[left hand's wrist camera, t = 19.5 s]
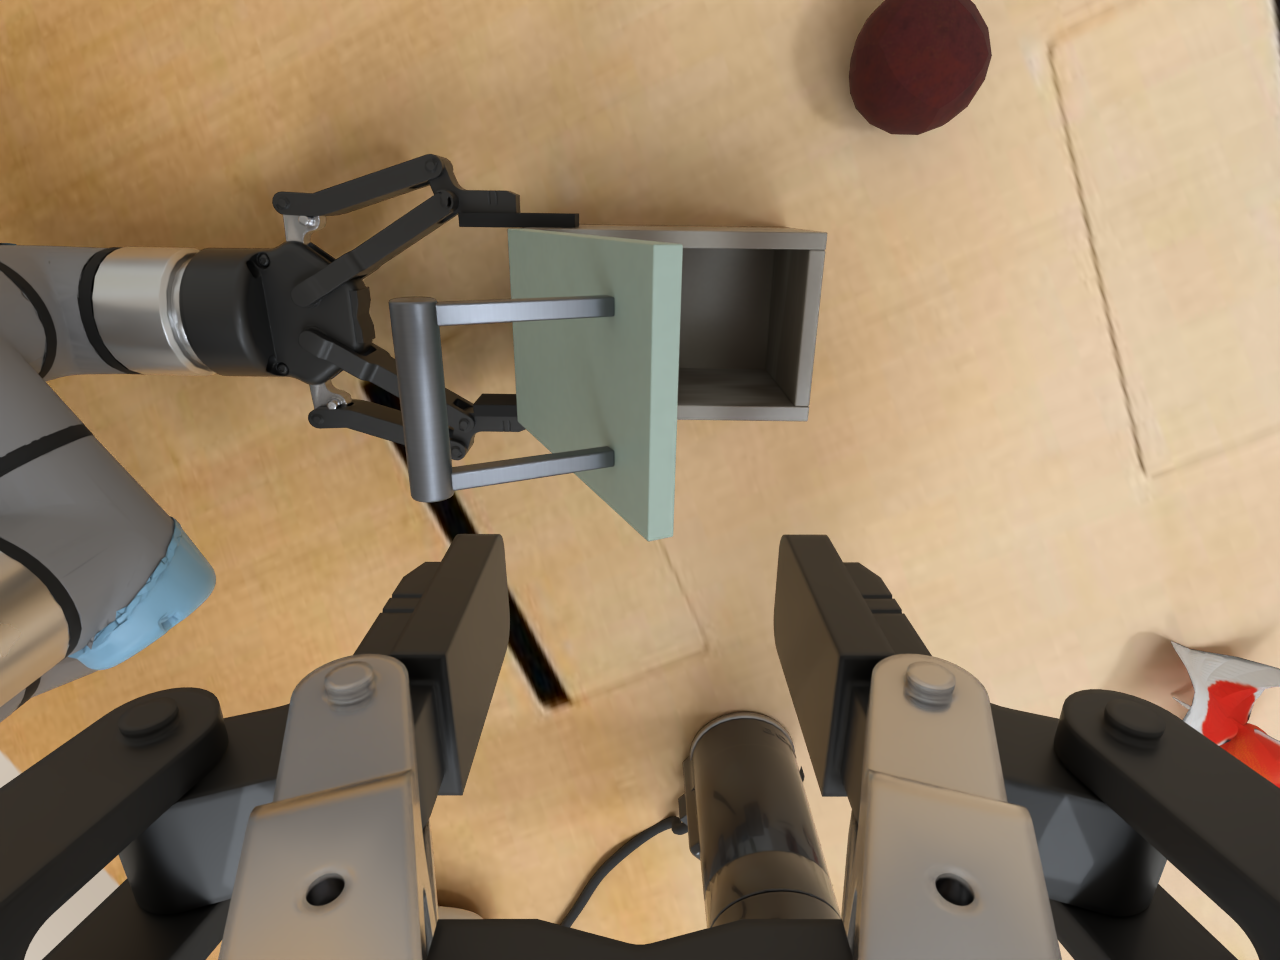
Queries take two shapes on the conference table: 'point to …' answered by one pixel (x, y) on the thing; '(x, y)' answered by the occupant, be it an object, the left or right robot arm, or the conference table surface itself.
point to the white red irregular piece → (1231, 706)
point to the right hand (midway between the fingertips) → (579, 317)
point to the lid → (563, 372)
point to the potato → (918, 63)
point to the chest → (741, 317)
